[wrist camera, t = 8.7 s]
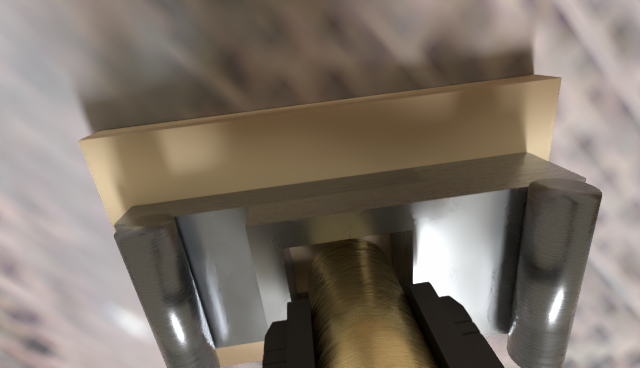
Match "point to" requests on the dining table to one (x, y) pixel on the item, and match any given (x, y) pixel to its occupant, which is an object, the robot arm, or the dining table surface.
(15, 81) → the dining table surface
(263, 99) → the dining table surface
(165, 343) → the clamp block fixture
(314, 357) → the robot arm
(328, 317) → the brass pin
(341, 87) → the dining table surface
